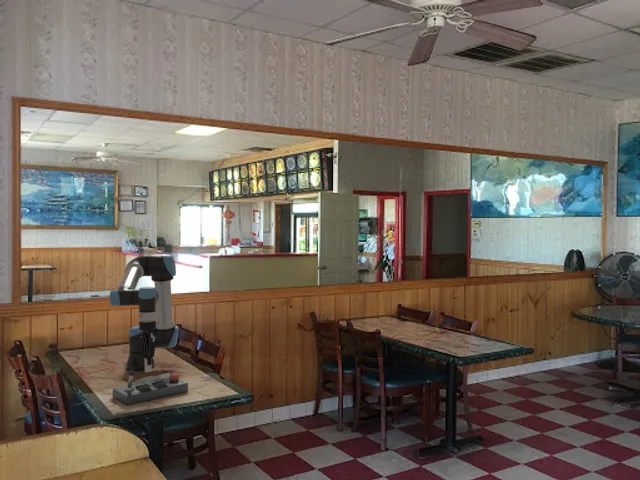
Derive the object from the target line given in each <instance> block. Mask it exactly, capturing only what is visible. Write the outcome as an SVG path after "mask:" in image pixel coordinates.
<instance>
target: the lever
mask: <svg viewBox="0 0 640 480" xmlns="http://www.w3.org/2000/svg"><path fill="white" fill-rule="evenodd" d="M135 375H136V370H128V381H127V385H128V386H127V388H128V389H130V388H131V387H132V384H133V380H134V376H135Z"/></svg>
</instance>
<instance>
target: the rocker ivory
mask: <svg viewBox="0 0 640 480" xmlns="http://www.w3.org/2000/svg"><path fill="white" fill-rule="evenodd" d="M170 374H171V373H170V372H165V373H160V374H158V375H156V376H155V375H154V379H155V380H153V381H157V380H162V379H165V378H168V377H170Z"/></svg>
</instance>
